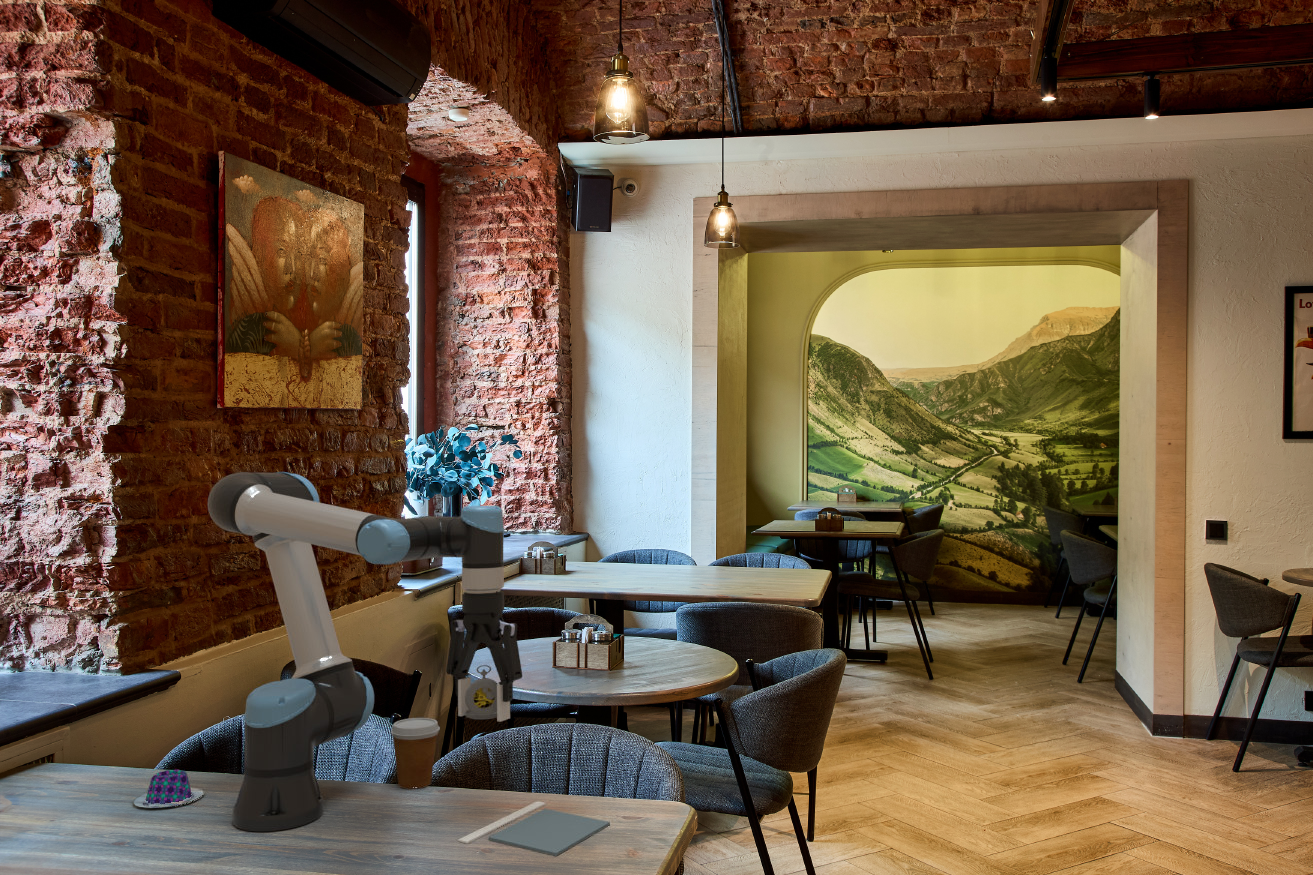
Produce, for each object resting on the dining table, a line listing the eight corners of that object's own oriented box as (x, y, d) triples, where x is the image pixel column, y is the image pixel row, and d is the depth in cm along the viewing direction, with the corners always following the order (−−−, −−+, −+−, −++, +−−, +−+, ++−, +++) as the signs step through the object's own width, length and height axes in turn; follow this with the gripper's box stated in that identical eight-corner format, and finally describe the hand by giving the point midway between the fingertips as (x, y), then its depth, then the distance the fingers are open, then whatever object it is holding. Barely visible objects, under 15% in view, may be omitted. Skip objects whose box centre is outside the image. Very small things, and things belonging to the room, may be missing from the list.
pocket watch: (488, 710, 178) (488, 656, 178) (515, 717, 172) (515, 661, 172) (450, 718, 172) (450, 662, 173) (477, 726, 166) (477, 668, 167)
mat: (488, 839, 160) (488, 836, 160) (545, 811, 174) (545, 808, 174) (556, 856, 153) (556, 852, 153) (609, 824, 167) (609, 821, 167)
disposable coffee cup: (426, 793, 184) (427, 730, 185) (381, 789, 186) (382, 727, 187) (447, 778, 194) (447, 718, 194) (403, 775, 195) (404, 716, 196)
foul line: (458, 841, 160) (458, 839, 160) (537, 802, 179) (537, 801, 179) (467, 843, 159) (467, 841, 159) (545, 804, 178) (545, 802, 178)
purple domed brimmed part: (216, 792, 186) (217, 764, 186) (180, 813, 174) (180, 784, 174) (158, 790, 187) (159, 763, 187) (118, 811, 175) (119, 782, 175)
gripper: (542, 590, 171) (543, 718, 170) (452, 586, 181) (453, 706, 180) (516, 595, 165) (517, 728, 163) (425, 590, 175) (425, 715, 174)
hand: (484, 716), depth 172 cm, fingers closed on pocket watch, 8 cm apart
